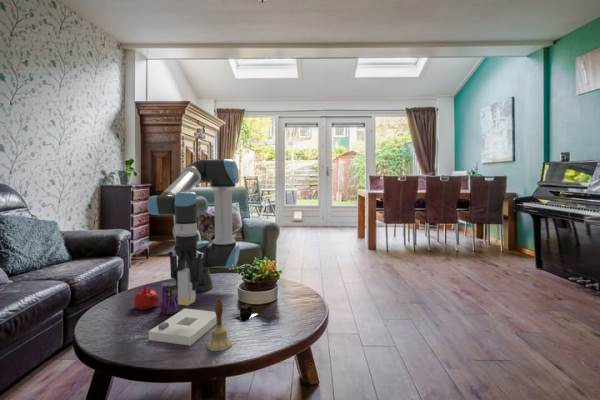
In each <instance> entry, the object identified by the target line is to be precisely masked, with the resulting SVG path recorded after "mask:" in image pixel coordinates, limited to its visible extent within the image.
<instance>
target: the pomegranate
mask: <svg viewBox="0 0 600 400" xmlns="http://www.w3.org/2000/svg"><path fill="white" fill-rule="evenodd" d="M159 300H160V297H159V294H158V292H157V291H156V290H154V289H153V287H152V288H149V289H148V288H147V286H143V289H138V292H136V294H135V295H134V297H133V300H132V302H133V306H134V308H135V309H137V310H139V311H140V310H141V311H146V310H149V309H153V308H154V307H156V306H157V304H158V302H159Z"/></svg>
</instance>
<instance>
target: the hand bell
mask: <svg viewBox="0 0 600 400" xmlns="http://www.w3.org/2000/svg"><path fill="white" fill-rule="evenodd" d="M223 309H224V306H223V302H222V299H221V297H217V298H216V302H215V303H214V312H215V313H216V317H217V323H216V325H215V326H216V327H215V328H213V329H212V332H211V337H210V340H209V341H208V343H207V344H206V349H207V350H209V351H211V352H222V351H225V350H229V349H230V348H231V347H232V346H233V342H232V340H231V339H229V336H228V335H227V329H226V328H225V327H223V323H222V315H223V311H224V310H223Z"/></svg>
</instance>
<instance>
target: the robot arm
mask: <svg viewBox="0 0 600 400" xmlns="http://www.w3.org/2000/svg"><path fill="white" fill-rule="evenodd" d="M239 174H240V173H239V168H238V165H237V163H236V161H235V160H233V159H231V158H230V159H229V158H228V159H227V158H203V159H198V160H196V161H193V162H191V163H189V164H188V165H187V166H185V168H183V169H182V170H181V173H180V175H179V177H177V178H176V179H175V180H174V181H173V182H172V183H171V184H170V185H169V186H168V187H167V188H166V189H165V190H164V191H163V192H162V193H161V194H160V195H157V194H155V195H152V196H151V195H150V196H149V197H148V199H147V202H146V208H147V211H148V213H149V214H150V215H153V216H154V215H155V216H174V217H175V218H174V221H175V222H174V224H175V225H174V227H175V228H174V229H175V237H174V238H175V239H174V240H175V241H174V243H175V249H174V250H172V251H168V256H169V265H170V279H172V280H173V279H174V280H175V282H176V289H178V271H180V270H182V269H185V268H189V270H190V275H191V280H192V281H190V300H193V299H194V298H195V299H196V293H199V292H200V293H201V292H205V291H208V290H211V289H212V288H213V287H214V284H213V283H214V282H213V278H212V276H211V273H210V269H211V268H212V269H213V268H216V269H217V268H218V269H232V268H231V267H232V264H234V265H235V267H236V266H237V264H238V261H239V257H240V250H241V249H240V245H239V244H236V243H237V242H236V239H235V238H234V237H233V234H234V233H233V231H234V230H233V189H235V187H236V184H237V183H239V180H240V179H239V178H240V175H239ZM204 183H205V184H206V183H207V184H210V187H211V188H212V190H214V191H213V193H214V204H213V205H214V239H213V240H212V241H211V243H210V242H209V240H199V241H198V236H197V234H198V216H202V215H203V214H205V213H206V212H207V211H208V209H209V202H208V199H206V197H204V196H202V195H197V193H196V192H195V191H191V190H192V189H193V188H194V187H195V186H198V185H199V184H204Z"/></svg>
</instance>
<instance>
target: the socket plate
mask: <svg viewBox="0 0 600 400" xmlns="http://www.w3.org/2000/svg"><path fill="white" fill-rule="evenodd" d="M216 323H217V317H216V313H215V311H211V310H210V311H209V310H202V309H192V308H186V307H185V308H182V310H179V311H177V312H176V313H174V315H172V316H170V317H169V318H167V319H166V320H165V321H162V322H161V323H160V324H157V326H156V325H155V327H152V329H150V330H149V331H148V340H149V341H154V342H155V341H156V342H160V343H169V344H176V345H182V346H183V345H184V346H189V347H191V346H192V345H193V344H194V343H196V342H197V341H198V340H199V339H200V338H201V337H203V336H205V334H206V333H207V332H209V331H210V330H211V329H212V328H213V327H214V326H217V325H216Z"/></svg>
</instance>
